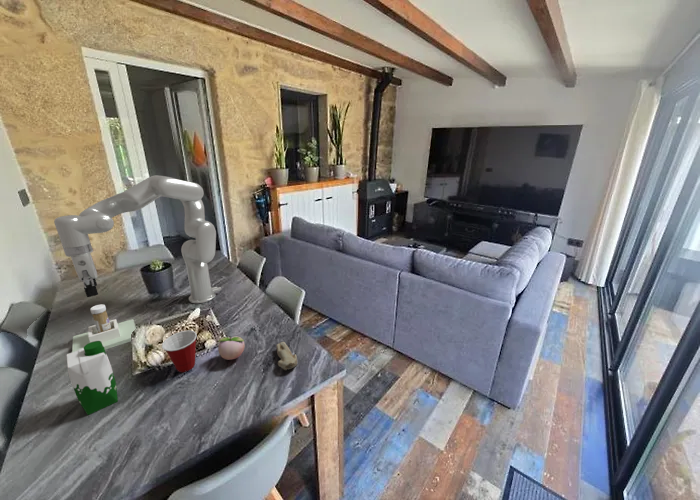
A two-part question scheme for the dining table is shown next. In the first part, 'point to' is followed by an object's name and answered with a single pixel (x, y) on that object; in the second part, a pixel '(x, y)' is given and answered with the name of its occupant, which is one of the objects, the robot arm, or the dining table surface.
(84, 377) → the milk carton
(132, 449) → the dining table surface
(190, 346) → the plastic cup
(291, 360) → the sculpture
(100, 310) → the sprinkles bottle
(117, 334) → the chute mount
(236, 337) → the decorative fruit
